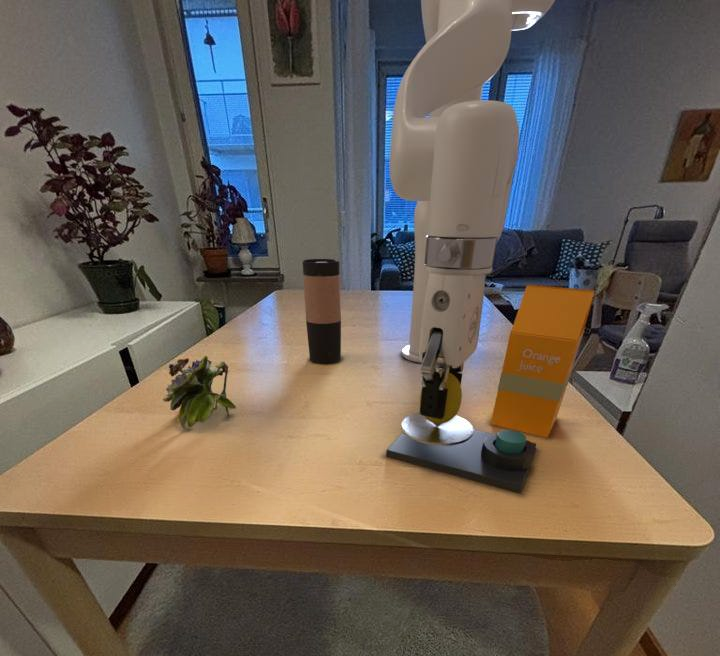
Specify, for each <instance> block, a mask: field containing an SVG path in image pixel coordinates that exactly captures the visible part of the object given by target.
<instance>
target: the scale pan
mask: <svg viewBox="0 0 720 656" xmlns="http://www.w3.org/2000/svg"><path fill="white" fill-rule="evenodd" d="M401 430H402V433H403V432H404V434H405V435H407V436H408V437H409V438H411V439H413V440H415V441H418V442H420V443H424V444H428V445H435V446H451V445H457V444H461V443H464V442H466V441H468V440H469V439H470V438H471V437H472V435H473V431H474V430H475V429H474V427H473V425H472V423H470V421H468V420H467V419H465V418H464V417H462V416H459V415H457V414H456V415H455V417H454V418H453V419H451V420H450V421H448V422H446V423H442V424H441V425H439V426H436V425H434V423H433V422H430V421H429V420H427V419H426V418H425V417H424V416H423V415H421V414H420V411H419V412H415V413H412V414H410V415H407V416H406V417H405V418H403V420H402V422H401Z"/></svg>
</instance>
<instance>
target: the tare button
mask: <svg viewBox="0 0 720 656" xmlns="http://www.w3.org/2000/svg"><path fill="white" fill-rule="evenodd" d="M496 434H497V438H496V443H495V448H496V449H498V450H500V451H502V452H506V453H510V454H520V453H522V452H523V450H524V446H525V443H526V440H527V437H526V435H525V434H524V433H523V432H521V431H518V430H514V429H504V430H500V431H499V432H497V433H496Z"/></svg>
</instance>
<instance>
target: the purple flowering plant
mask: <svg viewBox="0 0 720 656" xmlns="http://www.w3.org/2000/svg"><path fill="white" fill-rule="evenodd" d="M189 362H190V358H189V357H186V358H179V359H177V360H176V363H170V364H169V365H168V368H169V372H168V374H169V375H170V376H171V377H174V376H175V377H174V378H173V379H170V381H171V382H170V383H171V384H167V387H166V389H165V391H166V392H167V395H165V397H163V398H162V401H163V402H165V403H166V402H167V403H169V402H170V406H169V407H170V410H171V411H176V410H177V409H179V413H178V416H179V417H178V418H179V419H178V421H179V424H180V426H181V428H182V429H183V430H184V431H186V430H187V428H192V427H193V426H195V425H196V424H197V423H204V422H205V421H207V420H208V419H209V418H210V416H211V415H212V413H213V412H214V410H217V409H218V404H219V405H221V406H222V407H224V408H225V412H226V414H227V417H228V418H229V417H230V414H229V413H230V412H229V409H236V408H237V407H236V405H235V403H233V402H232V401H231V400H230V399H229V398H228V397H227V391H226V390H227V380H228V379H227V378H228V373H229V366H228V365H227V364H226V362H225V361H224V360H223V361H220V362H219V363H218V364H216V365H215V369H213V368H212V361H211V360H209V357H208V356H207V355H204V356H203V357H202V358H201V360H199V359H198V360H195V361H192V362H191V363H192V364H191V366H190V365H188V366H187V364H188V363H189ZM186 366H187V368H186V369H184V368H185V367H186ZM179 372H180V374H179ZM218 376H224V378H223V388H222V391H221V393H217V392H214V391H213V389H212V385H213V382H214V379H215V378H216V377H218Z"/></svg>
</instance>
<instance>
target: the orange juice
mask: <svg viewBox="0 0 720 656" xmlns="http://www.w3.org/2000/svg"><path fill="white" fill-rule="evenodd" d="M595 291H596V290H594V289H586V288H585V289H582V288H571V287H561V286H559V287H558V286H550V285H549V286H548V285H536V284H526V287H525V290H524V293H523V295H522V298H521V301H520V304H519V307H518V309H517V312H516V316H515V318H514V322H513V325H512V328H511V330H510V332H509V337H508V341H507V347H506V350H505V356H504V360H503V365H502V369H501V372H500V377H499V382H498V386H497V392H496V398H495V402H494V406H493V410H492V416H491V420H490V425H493V426H497V427H502V428H505V429H509V430H513V431H517V432H521V433H526V434H531V435H535V436H539V437H543V438H548V437H549V435H550V433H551V431H552V429H553V427H554V425H555V422H556V421H557V418H558V415H559V412H560V409H561V405H562V402H563V399H564V396H565V393H566V390H567V387H568V384H569V381H570V378H571V374H572V372H573V368H574V364H575V362H576V358H577V355H578V352H579V349H580V345H581V342H582V339H583V336H584V332H585V329H586V326H587V325H586V324H587V321H588V317H589V314H590V311H591V307H592V303H593V299H594V295H595Z"/></svg>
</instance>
